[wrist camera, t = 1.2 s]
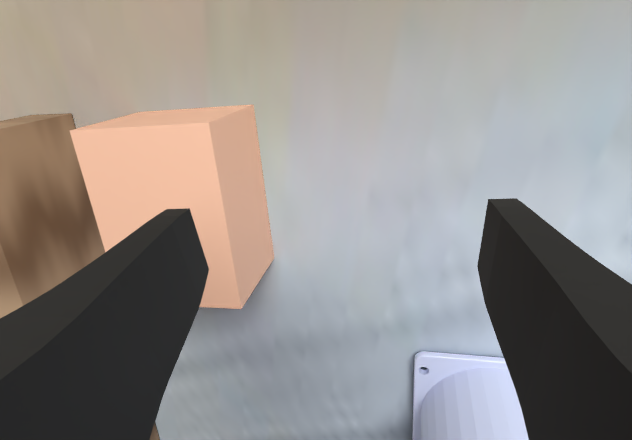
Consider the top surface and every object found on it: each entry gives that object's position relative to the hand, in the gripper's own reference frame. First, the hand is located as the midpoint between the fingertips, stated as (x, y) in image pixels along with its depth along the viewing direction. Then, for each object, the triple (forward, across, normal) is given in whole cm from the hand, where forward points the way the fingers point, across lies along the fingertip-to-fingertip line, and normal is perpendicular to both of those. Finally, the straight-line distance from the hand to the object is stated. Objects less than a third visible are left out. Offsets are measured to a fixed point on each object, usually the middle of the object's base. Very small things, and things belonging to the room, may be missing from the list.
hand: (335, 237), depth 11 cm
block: (+10, +7, +4) cm, 13 cm away
